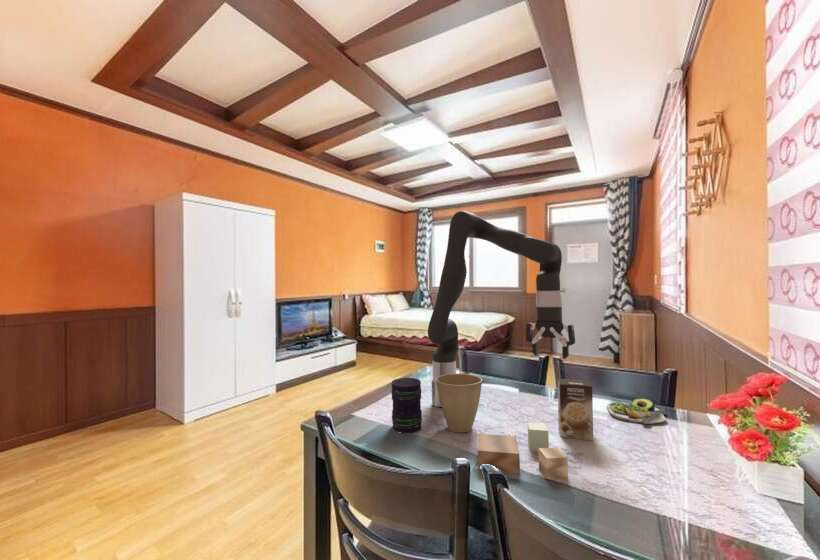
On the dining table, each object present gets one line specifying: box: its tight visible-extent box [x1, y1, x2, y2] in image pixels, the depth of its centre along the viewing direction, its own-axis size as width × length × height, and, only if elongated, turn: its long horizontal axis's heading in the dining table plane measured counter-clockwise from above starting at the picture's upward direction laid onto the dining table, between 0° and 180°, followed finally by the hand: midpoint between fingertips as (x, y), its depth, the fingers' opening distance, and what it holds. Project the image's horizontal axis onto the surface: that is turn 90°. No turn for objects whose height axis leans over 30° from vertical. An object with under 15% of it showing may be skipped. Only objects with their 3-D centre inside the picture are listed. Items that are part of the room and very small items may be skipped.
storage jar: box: [391, 377, 423, 434], centre depth 112 cm, size 10×10×15 cm
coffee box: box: [557, 378, 594, 442], centre depth 104 cm, size 9×6×16 cm
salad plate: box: [606, 398, 666, 425], centre depth 117 cm, size 19×18×5 cm
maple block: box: [538, 447, 569, 480], centre depth 83 cm, size 5×5×5 cm
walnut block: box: [477, 433, 521, 474], centre depth 89 cm, size 10×10×5 cm
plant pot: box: [436, 373, 483, 434], centre depth 110 cm, size 15×15×16 cm
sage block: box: [527, 421, 550, 453], centre depth 96 cm, size 5×5×6 cm
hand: (550, 356), depth 106 cm, fingers open, 8 cm apart
